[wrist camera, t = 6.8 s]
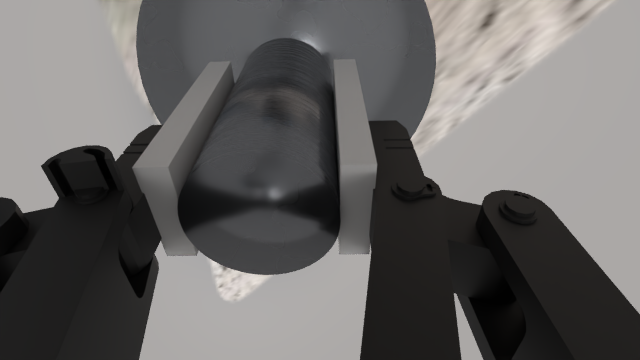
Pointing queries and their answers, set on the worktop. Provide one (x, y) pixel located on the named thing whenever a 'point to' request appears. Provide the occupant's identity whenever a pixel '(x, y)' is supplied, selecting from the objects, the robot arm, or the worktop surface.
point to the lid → (279, 112)
